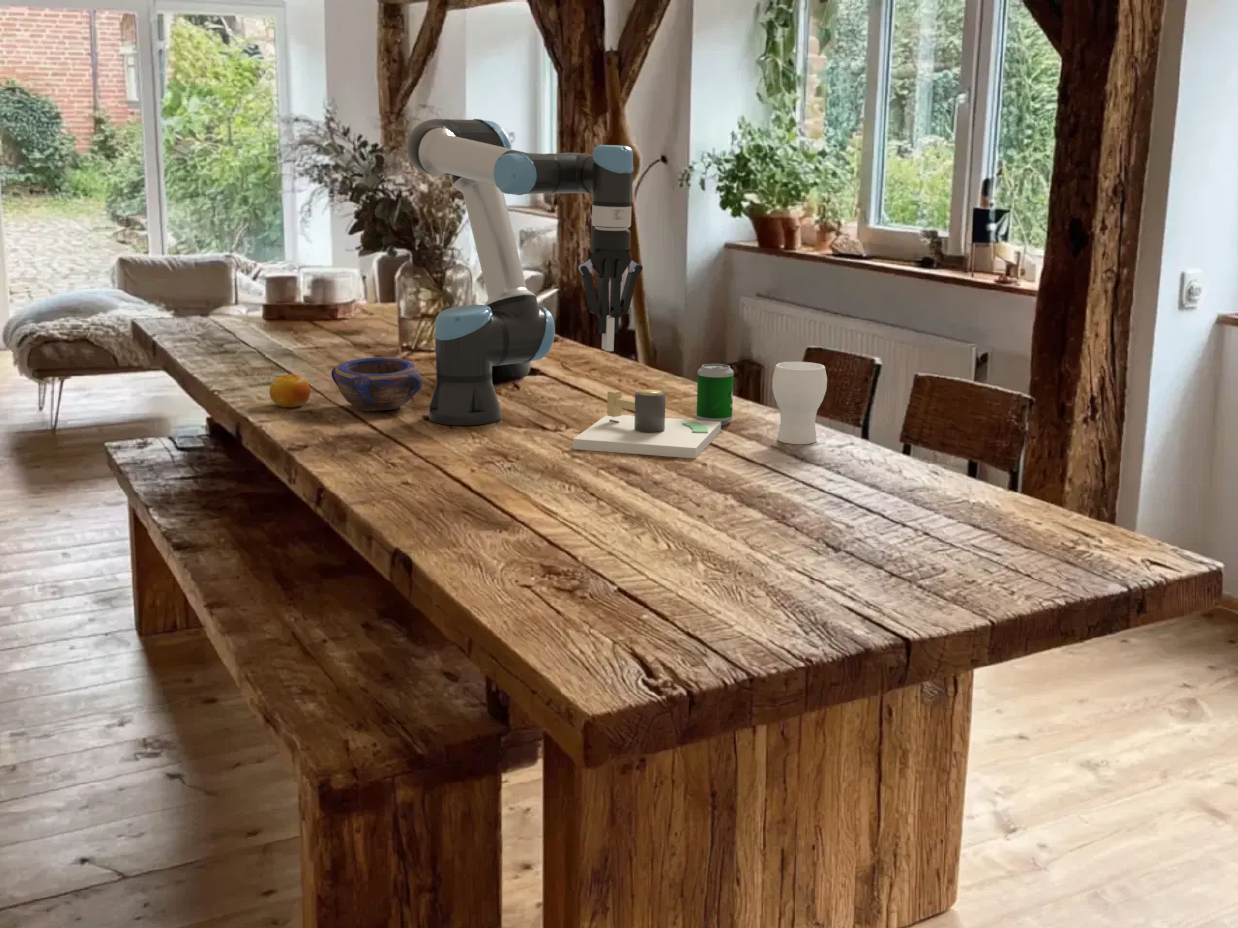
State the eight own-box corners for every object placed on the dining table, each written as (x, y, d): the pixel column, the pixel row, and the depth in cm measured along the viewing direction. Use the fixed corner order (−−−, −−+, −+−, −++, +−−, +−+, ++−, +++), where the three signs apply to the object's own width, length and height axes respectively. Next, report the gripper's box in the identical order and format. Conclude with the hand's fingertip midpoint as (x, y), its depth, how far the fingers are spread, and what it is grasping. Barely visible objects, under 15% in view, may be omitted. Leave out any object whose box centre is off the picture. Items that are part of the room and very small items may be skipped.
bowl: (349, 419, 269) (347, 372, 266) (326, 404, 284) (324, 359, 282) (431, 412, 277) (429, 366, 274) (404, 397, 292) (403, 354, 290)
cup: (828, 436, 258) (832, 363, 254) (818, 448, 248) (822, 372, 245) (776, 432, 261) (779, 359, 258) (764, 443, 252) (767, 368, 248)
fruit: (255, 391, 279) (276, 361, 278) (279, 399, 287) (298, 369, 286) (280, 413, 276) (301, 382, 275) (303, 420, 284) (323, 390, 283)
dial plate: (573, 449, 246) (573, 437, 245) (607, 423, 268) (607, 412, 267) (695, 458, 239) (696, 446, 239) (720, 431, 262) (721, 420, 261)
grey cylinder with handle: (671, 428, 253) (671, 392, 251) (649, 433, 249) (650, 396, 247) (621, 417, 263) (621, 382, 261) (600, 421, 259) (600, 385, 257)
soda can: (729, 427, 266) (731, 370, 263) (693, 425, 267) (695, 368, 264) (733, 419, 273) (735, 364, 270) (698, 417, 274) (700, 362, 271)
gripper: (586, 230, 240) (582, 354, 246) (650, 230, 244) (645, 352, 251) (572, 226, 246) (569, 347, 253) (635, 226, 251) (631, 345, 257)
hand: (607, 349), depth 252 cm, fingers closed
